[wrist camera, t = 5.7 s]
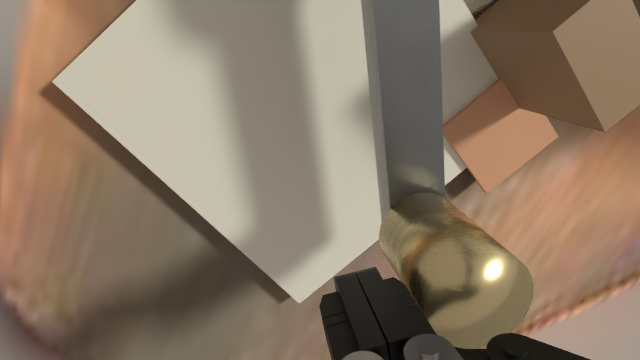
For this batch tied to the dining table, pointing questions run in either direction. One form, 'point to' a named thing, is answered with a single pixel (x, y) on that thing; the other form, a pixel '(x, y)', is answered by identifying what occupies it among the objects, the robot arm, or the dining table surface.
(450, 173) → the plate
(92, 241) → the dining table surface
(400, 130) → the bar
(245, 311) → the dining table surface
